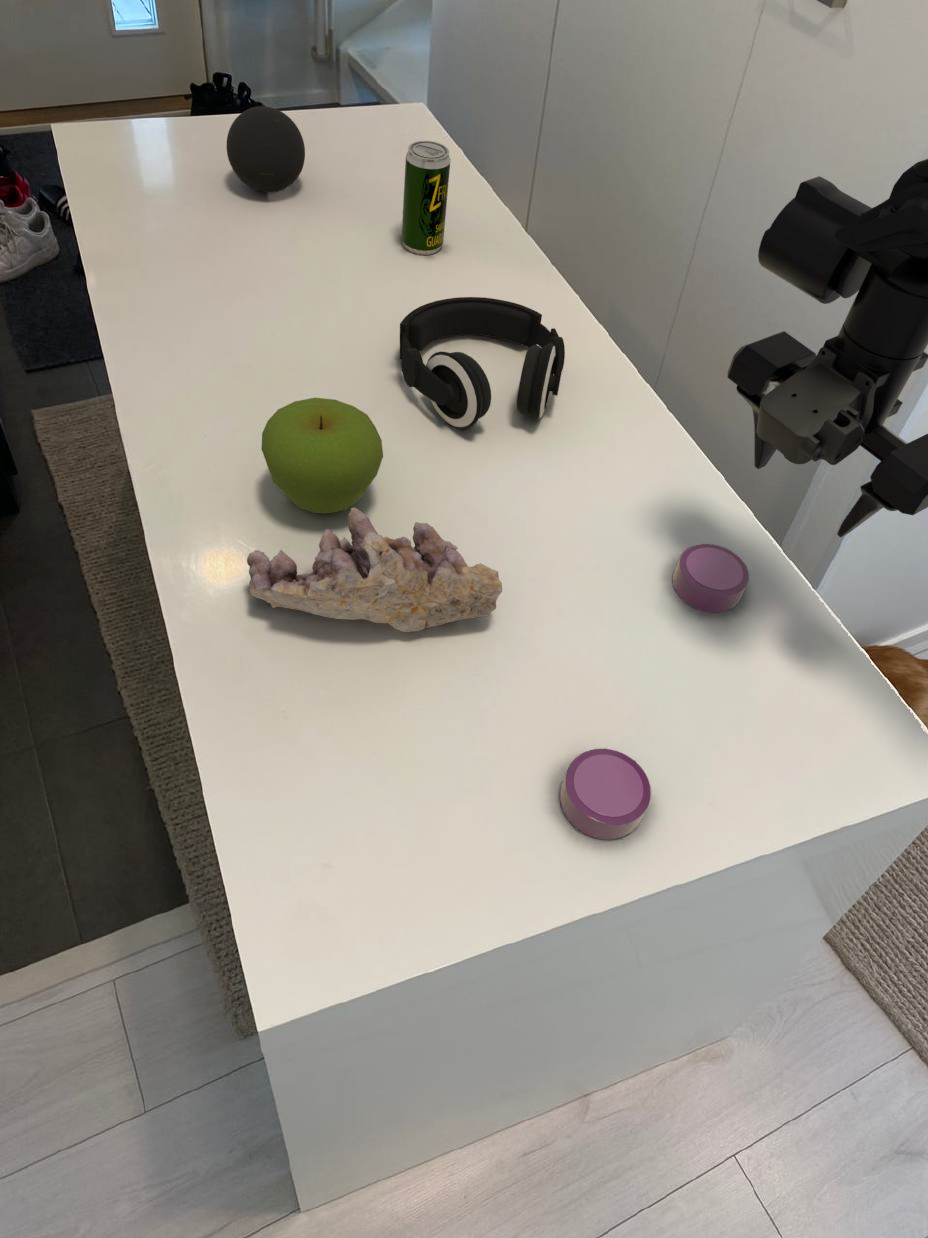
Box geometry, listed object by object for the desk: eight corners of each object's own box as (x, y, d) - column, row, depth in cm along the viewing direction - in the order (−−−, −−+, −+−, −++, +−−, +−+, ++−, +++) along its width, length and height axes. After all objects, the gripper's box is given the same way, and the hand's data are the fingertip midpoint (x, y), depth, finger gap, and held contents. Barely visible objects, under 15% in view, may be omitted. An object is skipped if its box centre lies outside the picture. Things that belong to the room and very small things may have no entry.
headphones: (432, 378, 89) (380, 286, 102) (428, 448, 94) (379, 352, 107) (603, 362, 93) (531, 276, 107) (589, 430, 99) (523, 340, 112)
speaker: (214, 187, 124) (205, 108, 117) (264, 163, 130) (259, 86, 122) (272, 214, 121) (267, 134, 114) (321, 188, 127) (320, 110, 119)
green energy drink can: (393, 246, 119) (397, 150, 110) (415, 229, 122) (421, 135, 113) (429, 260, 118) (436, 164, 109) (450, 243, 121) (459, 149, 112)
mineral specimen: (252, 631, 71) (258, 499, 70) (241, 616, 80) (247, 500, 79) (504, 640, 77) (514, 519, 76) (466, 625, 87) (474, 517, 86)
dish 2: (754, 596, 86) (764, 578, 84) (705, 622, 84) (714, 605, 82) (706, 552, 89) (714, 533, 88) (658, 576, 87) (665, 558, 85)
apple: (402, 502, 89) (408, 419, 82) (319, 555, 84) (317, 471, 76) (326, 445, 94) (325, 361, 86) (242, 492, 88) (233, 406, 81)
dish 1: (660, 813, 71) (669, 797, 69) (596, 855, 68) (603, 840, 66) (606, 751, 74) (613, 734, 72) (542, 788, 71) (548, 772, 69)
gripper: (710, 295, 66) (653, 463, 78) (920, 448, 57) (820, 612, 69) (813, 260, 71) (745, 424, 83) (1023, 397, 62) (912, 558, 74)
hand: (799, 499), depth 77 cm, fingers open, 9 cm apart
